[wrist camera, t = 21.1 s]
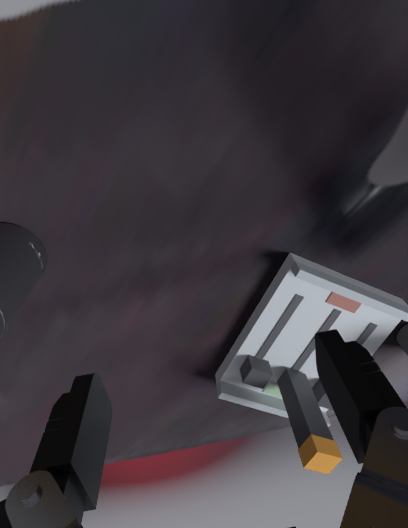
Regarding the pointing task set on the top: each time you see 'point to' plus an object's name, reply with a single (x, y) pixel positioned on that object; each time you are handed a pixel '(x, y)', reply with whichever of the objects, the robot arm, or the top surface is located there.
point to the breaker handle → (308, 423)
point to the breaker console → (302, 332)
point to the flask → (403, 338)
